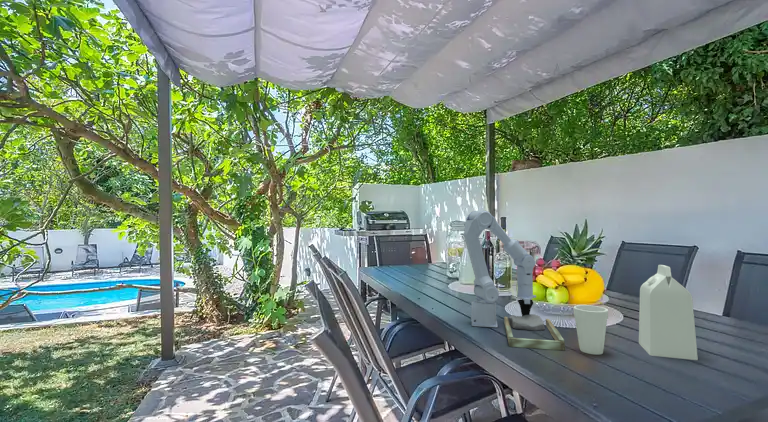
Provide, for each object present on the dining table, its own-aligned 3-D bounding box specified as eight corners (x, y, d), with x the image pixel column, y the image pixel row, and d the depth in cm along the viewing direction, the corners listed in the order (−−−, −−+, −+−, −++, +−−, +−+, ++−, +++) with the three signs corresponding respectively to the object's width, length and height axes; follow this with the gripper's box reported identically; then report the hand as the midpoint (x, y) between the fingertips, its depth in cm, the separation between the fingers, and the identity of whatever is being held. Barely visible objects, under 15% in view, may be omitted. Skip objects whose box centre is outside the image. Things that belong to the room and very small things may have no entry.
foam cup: (605, 347, 120) (604, 306, 120) (612, 357, 111) (611, 313, 111) (572, 344, 123) (571, 304, 123) (576, 354, 114) (575, 310, 114)
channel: (508, 346, 122) (508, 337, 122) (504, 322, 149) (503, 315, 149) (565, 350, 117) (565, 341, 117) (549, 325, 145) (549, 318, 145)
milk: (697, 360, 109) (695, 269, 109) (650, 355, 112) (648, 267, 113) (681, 346, 120) (679, 264, 120) (638, 343, 124) (636, 263, 124)
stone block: (547, 336, 138) (538, 323, 148) (547, 323, 138) (538, 311, 147) (513, 336, 140) (507, 323, 149) (513, 324, 139) (507, 312, 148)
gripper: (538, 287, 142) (539, 324, 142) (533, 281, 156) (533, 314, 156) (518, 286, 144) (519, 322, 144) (515, 280, 158) (515, 313, 158)
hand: (525, 318), depth 150 cm, fingers closed
